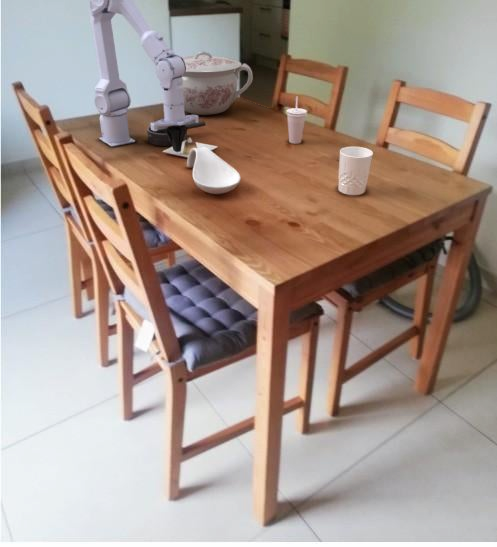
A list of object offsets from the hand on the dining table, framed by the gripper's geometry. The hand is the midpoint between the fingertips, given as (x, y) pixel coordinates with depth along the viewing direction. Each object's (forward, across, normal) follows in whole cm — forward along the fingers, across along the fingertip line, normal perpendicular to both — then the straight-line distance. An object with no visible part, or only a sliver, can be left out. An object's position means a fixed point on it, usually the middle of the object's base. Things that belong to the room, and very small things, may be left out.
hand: (177, 151), depth 145 cm
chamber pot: (+2, +34, +36) cm, 49 cm away
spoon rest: (+2, -4, -22) cm, 22 cm away
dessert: (+2, +4, 0) cm, 5 cm away
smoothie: (+2, +36, -11) cm, 38 cm away
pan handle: (-1, +14, +13) cm, 20 cm away
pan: (+1, +4, +14) cm, 14 cm away
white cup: (+2, +22, -48) cm, 53 cm away
